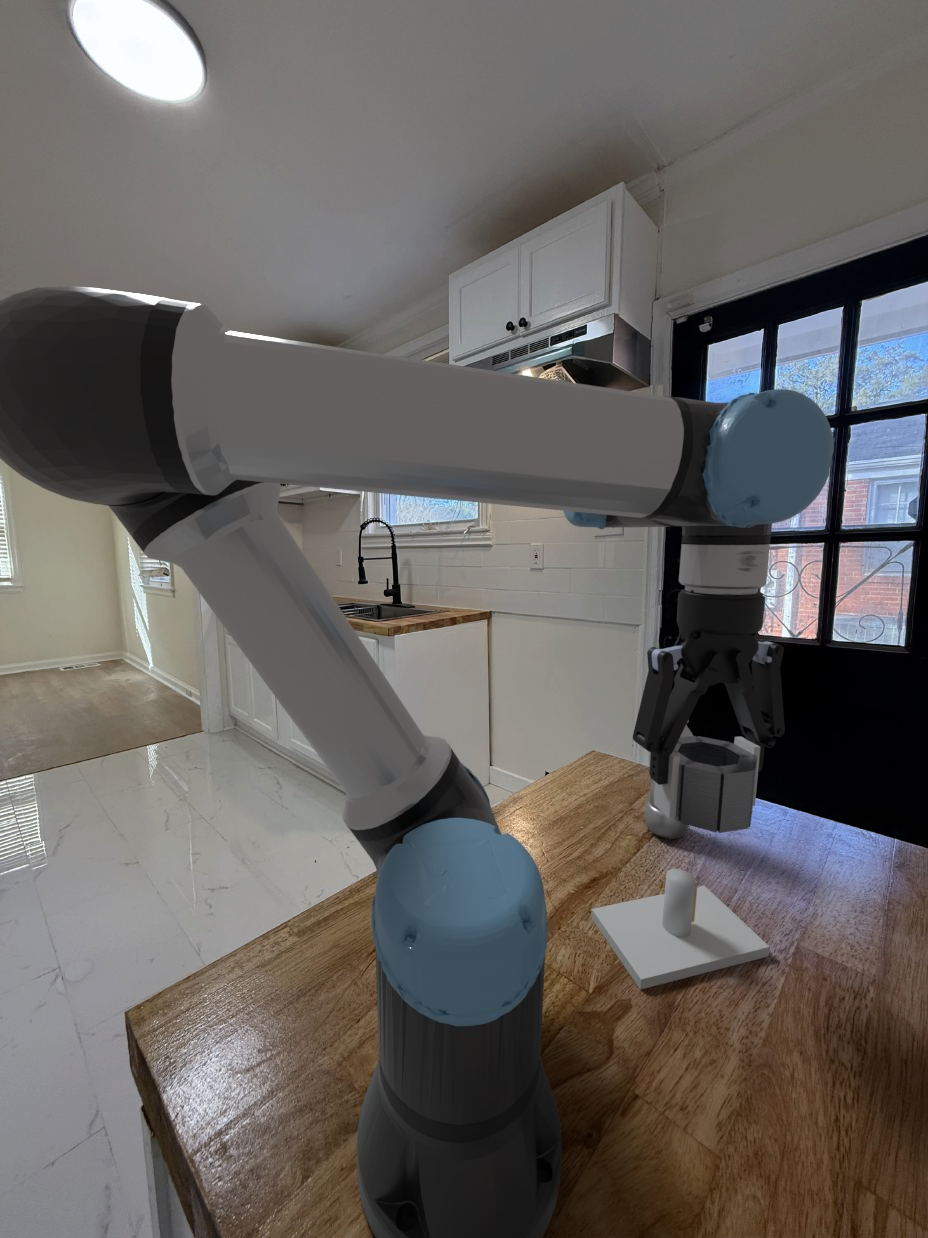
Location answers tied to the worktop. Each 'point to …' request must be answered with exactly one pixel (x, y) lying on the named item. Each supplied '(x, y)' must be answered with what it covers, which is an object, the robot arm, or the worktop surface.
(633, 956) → the shaft stand
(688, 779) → the ring
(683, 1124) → the worktop surface
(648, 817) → the plastic bottle
